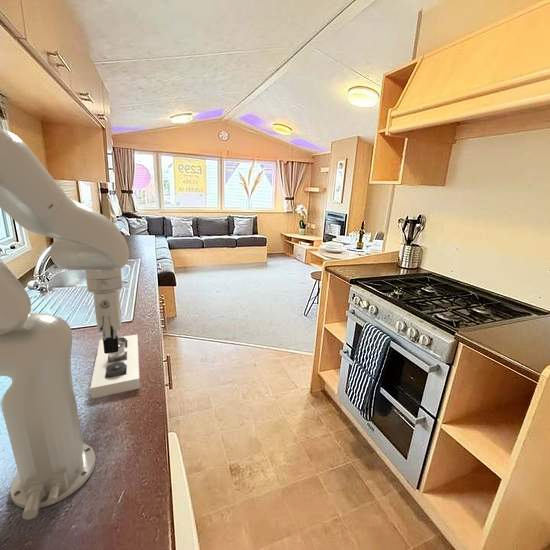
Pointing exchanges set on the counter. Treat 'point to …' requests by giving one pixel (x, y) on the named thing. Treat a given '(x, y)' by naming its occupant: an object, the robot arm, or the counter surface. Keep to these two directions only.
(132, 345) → the panel
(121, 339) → the knob far
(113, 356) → the knob middle
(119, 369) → the knob near
